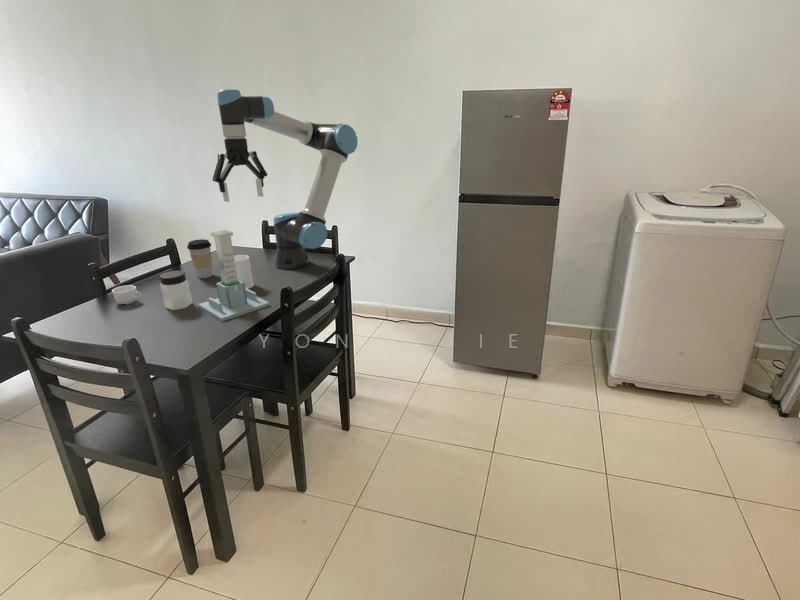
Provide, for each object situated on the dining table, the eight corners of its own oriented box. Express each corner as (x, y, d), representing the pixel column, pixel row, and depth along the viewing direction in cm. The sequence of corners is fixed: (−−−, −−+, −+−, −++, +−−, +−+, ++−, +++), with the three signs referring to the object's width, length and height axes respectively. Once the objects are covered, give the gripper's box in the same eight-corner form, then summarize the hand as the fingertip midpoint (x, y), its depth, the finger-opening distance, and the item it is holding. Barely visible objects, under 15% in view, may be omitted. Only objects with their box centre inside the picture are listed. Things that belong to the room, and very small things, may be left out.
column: (234, 283, 163) (225, 230, 155) (241, 286, 160) (232, 232, 152) (220, 287, 159) (210, 232, 152) (227, 290, 156) (217, 235, 149)
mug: (240, 294, 174) (235, 264, 169) (221, 291, 176) (216, 262, 171) (258, 283, 184) (254, 255, 179) (240, 281, 186) (236, 253, 182)
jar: (165, 311, 159) (157, 279, 154) (165, 303, 166) (158, 272, 161) (192, 307, 162) (186, 275, 158) (192, 299, 169) (185, 269, 165)
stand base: (244, 293, 174) (241, 271, 171) (269, 305, 163) (266, 282, 159) (198, 307, 162) (193, 283, 159) (222, 321, 151) (217, 296, 147)
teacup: (110, 306, 165) (106, 292, 163) (124, 298, 172) (121, 284, 170) (135, 307, 164) (132, 293, 161) (149, 299, 171) (146, 285, 169)
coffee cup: (206, 280, 188) (199, 245, 183) (188, 278, 191) (180, 243, 186) (221, 273, 197) (215, 239, 191) (203, 271, 200) (197, 238, 194)
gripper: (261, 136, 170) (268, 193, 178) (195, 139, 153) (206, 202, 162) (272, 136, 165) (279, 195, 173) (205, 140, 149) (216, 204, 157)
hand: (244, 198), depth 167 cm, fingers open, 13 cm apart
